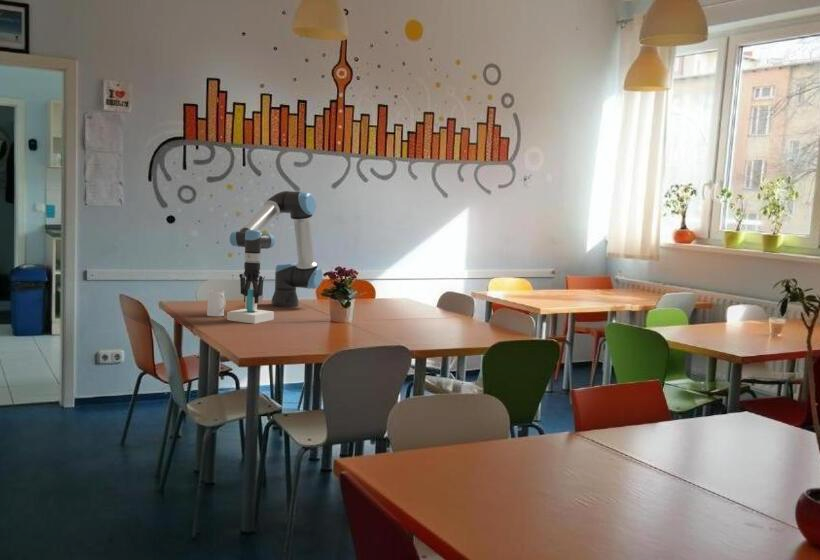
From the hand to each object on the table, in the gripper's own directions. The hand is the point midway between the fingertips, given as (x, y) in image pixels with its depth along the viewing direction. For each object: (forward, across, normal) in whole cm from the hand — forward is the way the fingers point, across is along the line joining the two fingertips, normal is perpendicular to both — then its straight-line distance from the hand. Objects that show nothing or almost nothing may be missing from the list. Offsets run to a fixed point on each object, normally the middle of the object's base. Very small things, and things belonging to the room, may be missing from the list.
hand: (251, 309), depth 395 cm
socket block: (+5, 0, 0) cm, 5 cm away
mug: (+5, -20, 0) cm, 21 cm away
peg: (+4, 0, 0) cm, 4 cm away
